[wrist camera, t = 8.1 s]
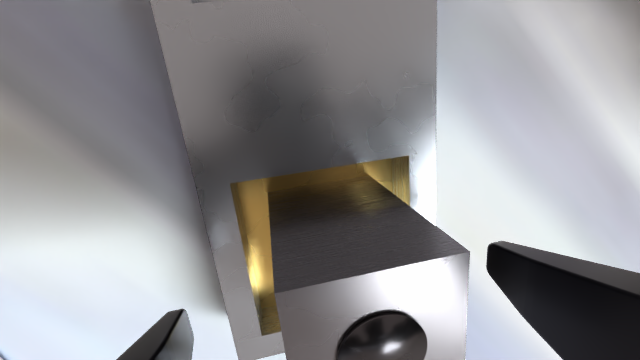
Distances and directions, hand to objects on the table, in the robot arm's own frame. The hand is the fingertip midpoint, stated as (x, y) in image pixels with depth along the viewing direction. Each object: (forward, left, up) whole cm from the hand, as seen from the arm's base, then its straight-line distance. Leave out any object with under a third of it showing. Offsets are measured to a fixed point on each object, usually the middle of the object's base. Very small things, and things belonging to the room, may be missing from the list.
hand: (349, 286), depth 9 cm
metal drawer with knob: (0, 0, -4) cm, 4 cm away
